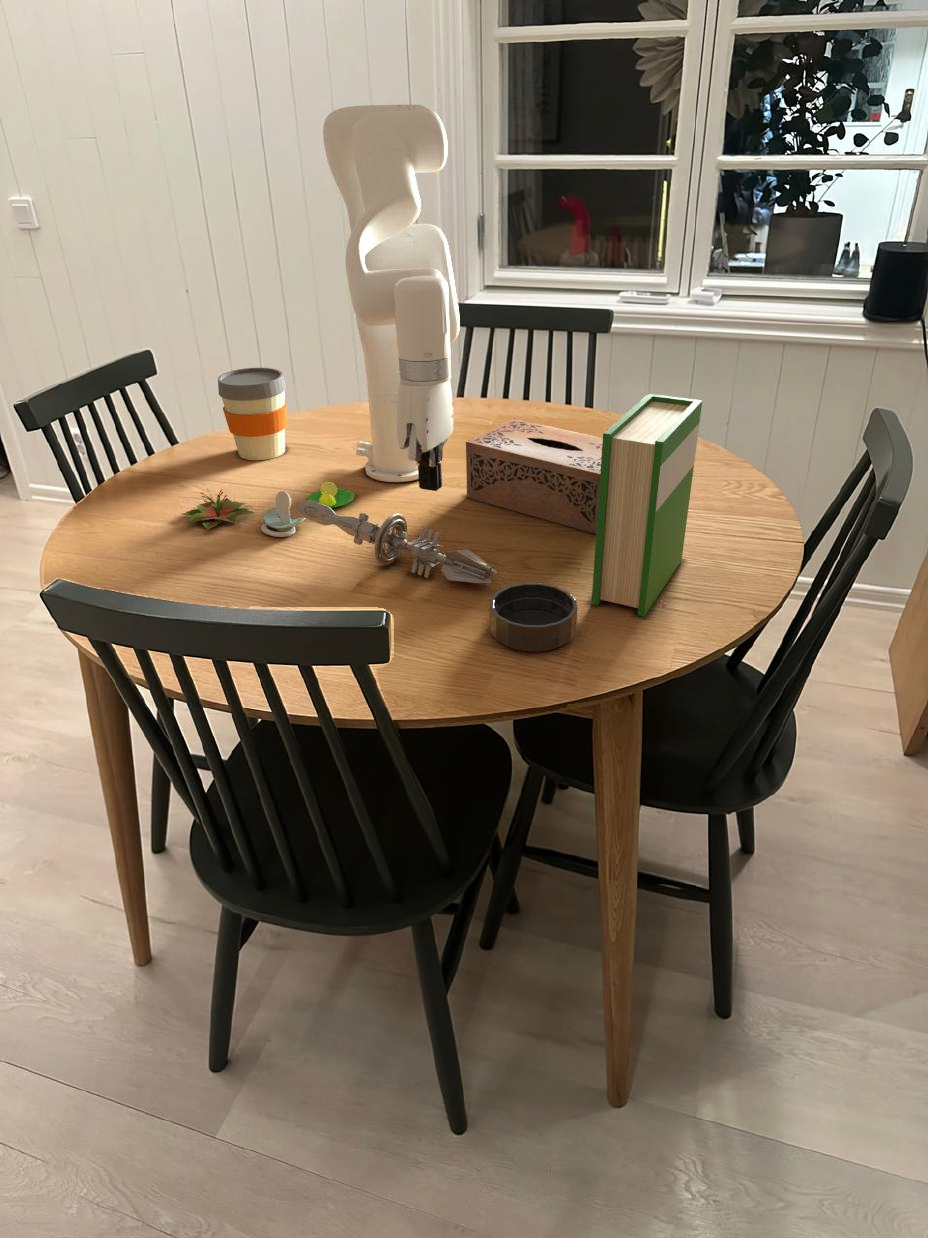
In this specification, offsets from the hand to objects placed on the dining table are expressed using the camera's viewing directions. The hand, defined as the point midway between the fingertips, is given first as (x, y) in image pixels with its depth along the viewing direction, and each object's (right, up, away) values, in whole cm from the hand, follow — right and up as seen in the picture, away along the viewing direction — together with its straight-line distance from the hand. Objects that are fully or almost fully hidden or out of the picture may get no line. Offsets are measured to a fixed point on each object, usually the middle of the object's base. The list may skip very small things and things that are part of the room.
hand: (430, 487), depth 131 cm
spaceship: (-6, -12, -5) cm, 15 cm away
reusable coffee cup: (-35, +13, +36) cm, 51 cm away
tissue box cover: (+20, 0, +13) cm, 24 cm away
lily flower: (-36, -3, +10) cm, 37 cm away
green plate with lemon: (-18, 0, +15) cm, 23 cm away
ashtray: (+14, -22, -22) cm, 34 cm away
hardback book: (+30, -15, -12) cm, 35 cm away
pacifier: (-24, -6, +5) cm, 26 cm away
